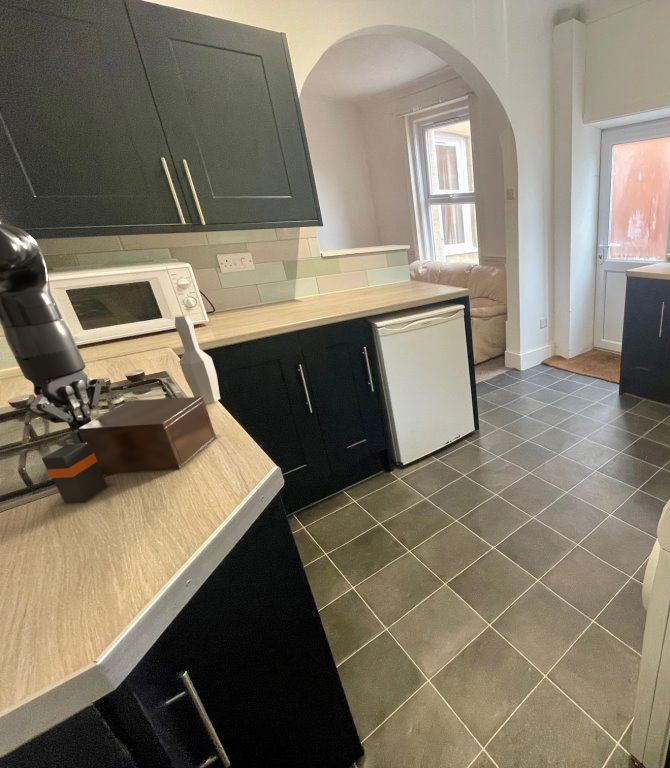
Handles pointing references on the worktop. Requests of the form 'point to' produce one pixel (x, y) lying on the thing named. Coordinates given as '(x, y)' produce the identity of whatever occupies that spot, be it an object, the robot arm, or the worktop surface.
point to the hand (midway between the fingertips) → (86, 436)
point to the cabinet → (149, 435)
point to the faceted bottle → (196, 363)
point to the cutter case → (75, 472)
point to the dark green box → (72, 437)
